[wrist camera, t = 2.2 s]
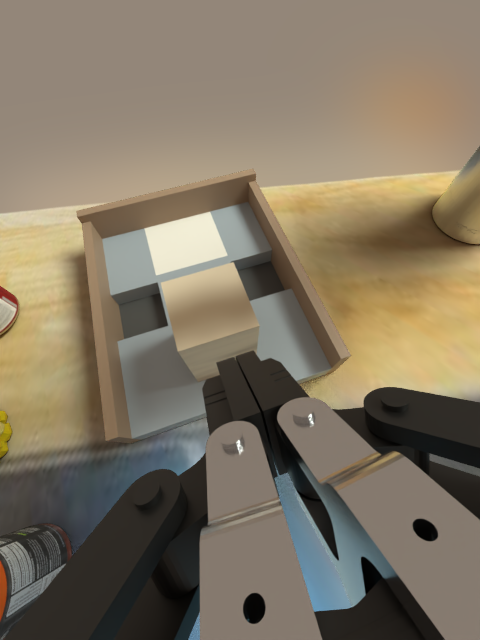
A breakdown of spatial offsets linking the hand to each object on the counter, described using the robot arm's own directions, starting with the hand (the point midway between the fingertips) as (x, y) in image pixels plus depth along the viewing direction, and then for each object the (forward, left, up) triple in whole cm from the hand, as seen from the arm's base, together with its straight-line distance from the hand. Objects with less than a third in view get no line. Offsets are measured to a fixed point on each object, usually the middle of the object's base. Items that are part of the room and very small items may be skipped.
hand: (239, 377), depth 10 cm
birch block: (-6, -5, -16) cm, 18 cm away
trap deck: (-11, -10, -19) cm, 24 cm away
